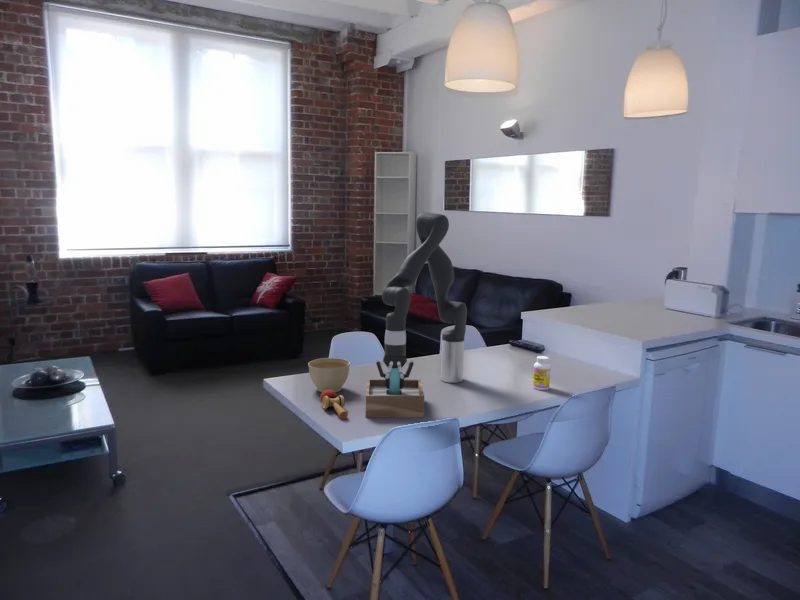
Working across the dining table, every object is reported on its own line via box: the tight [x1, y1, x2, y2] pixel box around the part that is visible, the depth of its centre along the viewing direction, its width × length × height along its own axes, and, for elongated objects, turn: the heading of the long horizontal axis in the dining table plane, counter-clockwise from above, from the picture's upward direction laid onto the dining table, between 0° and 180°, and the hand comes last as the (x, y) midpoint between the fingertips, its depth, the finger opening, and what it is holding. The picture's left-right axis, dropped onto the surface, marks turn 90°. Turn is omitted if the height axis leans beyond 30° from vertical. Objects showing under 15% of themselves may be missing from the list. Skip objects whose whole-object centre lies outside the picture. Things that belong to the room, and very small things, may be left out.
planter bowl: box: [307, 357, 351, 393], centre depth 233 cm, size 16×16×11 cm
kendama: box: [319, 390, 349, 420], centre depth 210 cm, size 8×6×18 cm
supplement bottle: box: [532, 355, 552, 391], centre depth 241 cm, size 7×7×13 cm
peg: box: [389, 368, 400, 395], centre depth 216 cm, size 4×4×11 cm
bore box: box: [365, 378, 425, 418], centre depth 215 cm, size 20×20×8 cm
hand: (394, 388), depth 216 cm, fingers closed on peg, 4 cm apart
